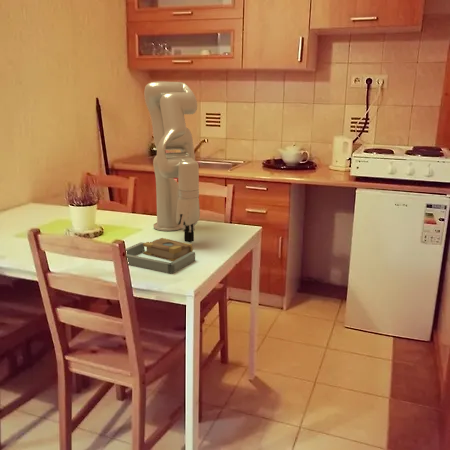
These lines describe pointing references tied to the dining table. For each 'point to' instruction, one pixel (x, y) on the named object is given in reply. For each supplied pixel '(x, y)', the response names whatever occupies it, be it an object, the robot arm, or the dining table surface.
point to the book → (167, 249)
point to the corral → (157, 264)
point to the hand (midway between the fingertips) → (189, 241)
